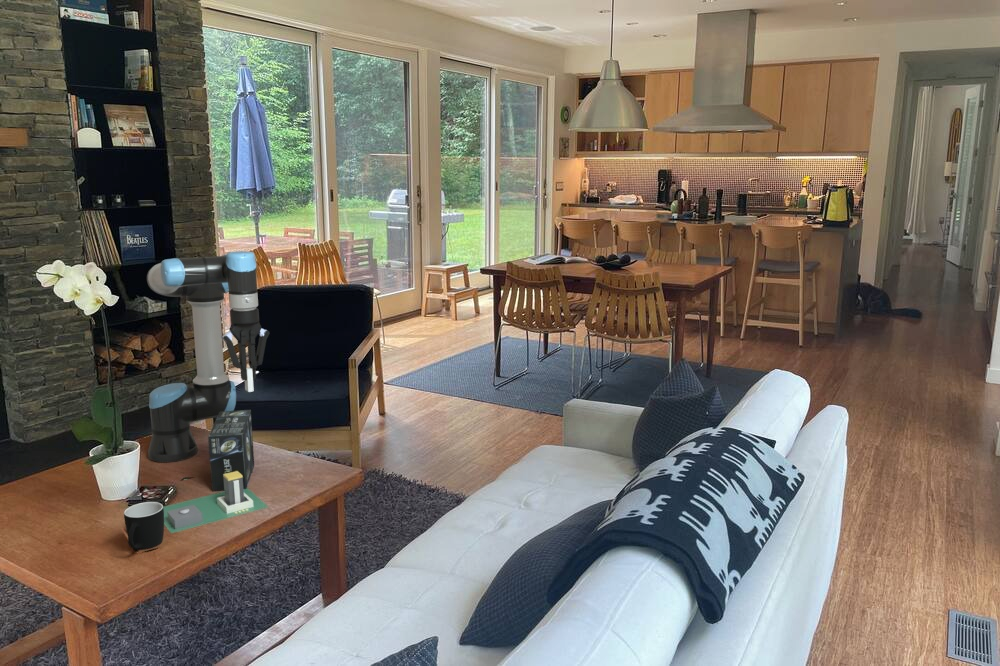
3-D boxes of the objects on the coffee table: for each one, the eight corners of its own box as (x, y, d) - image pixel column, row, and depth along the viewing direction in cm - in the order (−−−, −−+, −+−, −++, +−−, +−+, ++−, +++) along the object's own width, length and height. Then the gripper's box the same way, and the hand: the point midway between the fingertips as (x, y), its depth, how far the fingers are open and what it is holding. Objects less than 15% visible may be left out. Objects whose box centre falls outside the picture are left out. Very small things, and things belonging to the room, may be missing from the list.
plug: (225, 504, 214) (223, 474, 213) (239, 500, 217) (237, 470, 215) (231, 510, 211) (228, 479, 209) (245, 506, 213) (243, 476, 211)
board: (153, 512, 211) (151, 498, 210) (245, 489, 227) (245, 476, 226) (171, 536, 197) (169, 522, 197) (268, 510, 213) (267, 496, 212)
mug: (139, 537, 197) (135, 501, 195) (173, 538, 196) (169, 502, 194) (113, 561, 185) (109, 522, 183) (150, 562, 185) (146, 523, 183)
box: (247, 493, 225) (243, 432, 221) (212, 496, 223) (207, 435, 219) (255, 464, 247) (251, 408, 243) (223, 467, 245) (218, 410, 241)
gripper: (224, 312, 203) (230, 397, 208) (272, 307, 210) (276, 389, 215) (215, 308, 209) (221, 391, 214) (262, 303, 216) (267, 383, 221)
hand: (249, 390), depth 215 cm, fingers closed
